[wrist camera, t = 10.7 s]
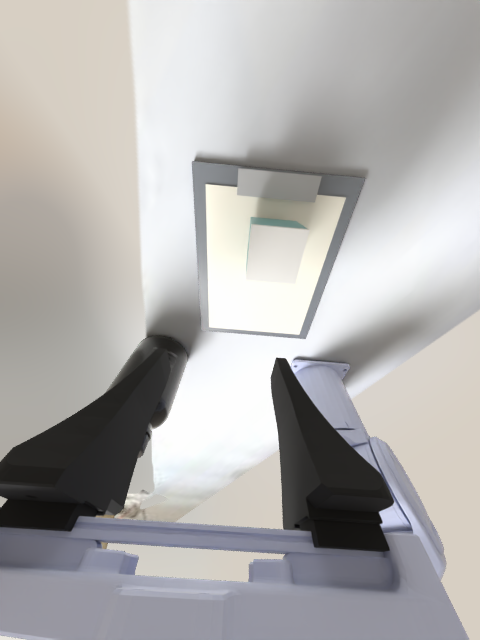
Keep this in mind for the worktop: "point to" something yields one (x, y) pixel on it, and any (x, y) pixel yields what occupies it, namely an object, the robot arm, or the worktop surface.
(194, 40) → the worktop surface
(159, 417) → the supplement bottle
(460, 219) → the worktop surface
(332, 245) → the clipboard
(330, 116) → the worktop surface
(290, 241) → the teal-topped white block
